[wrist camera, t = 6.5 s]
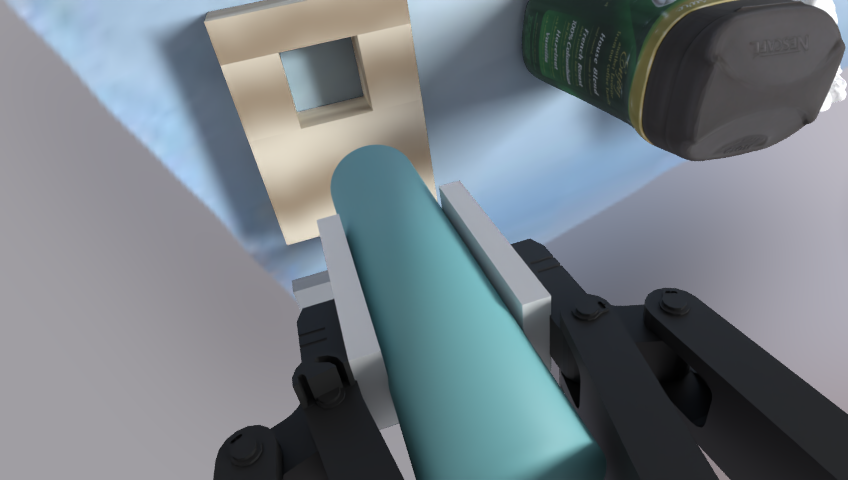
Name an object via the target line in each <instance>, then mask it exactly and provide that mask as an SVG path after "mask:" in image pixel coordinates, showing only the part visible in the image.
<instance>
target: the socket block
mask: <svg viewBox="0 0 848 480" xmlns="http://www.w3.org/2000/svg"><path fill="white" fill-rule="evenodd" d="M204 23H205V26H206V29H207V31H208V34H209V37H210V39H211V42H212V45H213V47H214V50H215V53H216V56H217V58H218V61H219V64H220V66H221V69H222V72H223V74H224V77H225V80H226V82H227V85H228V88H229V90H230V93H231V96H232V98H233V101H234V104H235V107H236V109H237V112H238V115H239V117H240V120H241V123H242V125H243V128H244V131H245V133H246V136H247V139H248V141H249V144H250V147H251V149H252V152H253V155H254V158H255V160H256V163H257V166H258V168H259V171H260V174H261V176H262V179H263V182H264V184H265V187H266V190H267V192H268V195H269V198H270V200H271V203H272V206H273V209H274V211H275V214H276V217H277V219H278V222H279V225H280V227H281V230H282V233H283V235H284V238H285V241H286V243H287V245H290V244H294V243H297V242H301V241H305V240H308V239H312V238H315V237H319V236H320V233H319V229H318V225H317V220H318V219H322V218H325V217H329V216H333V215H336V214H337V213H336V210H335V207H334V203H333V200H332V196H331V190H330V185H331V179H332V175H333V173H334V170H335V169H336V167H337V165H338V164H339V162H340V161H341V160H342V159H343V158H344V157H345V156H346V155H348V154H349V153H351V152H352V151H354V150H356V149H358V148H361V147H364V146H368V145H386V146H390V147H393V148H395V149H397V150H399V151H400V152H402V153H403V154H404V155H405V156H406V157H407V158H408V159H409V160H410V162H411V163H412V165H413V166H414V168H415V169H416V171H417V172H418V174H419V175H420V177H421V178H422V180H423V181H424V183H425V184H426V186H427V187H428V189H429V190H430V192H431V193H432V195H433V196H434V198H435V199H436V201H437V195H436V189H435V182H434V175H433V169H432V162H431V156H430V149H429V142H428V136H427V129H426V123H425V116H424V109H423V103H422V96H421V90H420V83H419V76H418V70H417V63H416V57H415V50H414V43H413V37H412V30H411V24H410V17H409V10H408V4H407V0H264V1H259V2H254V3H249V4H245V5H240V6H235V7H230V8H225V9H220V10H216V11H211V12H208V13H207V15H206V18H205V21H204ZM347 37H351V40H352V45H353V49H354V54H355V58H356V63H357V67H358V72H359V77H360V81H361V86H362V90H363V95H364V96H362V97H358V98H353V99H349V100H345V101H341V102H337V103H333V104H329V105H325V106H320V107H316V108H312V109H308V110H304V111H300V112H297V111H296V107H295V104H294V101H293V97H292V94H291V91H290V88H289V84H288V81H287V78H286V74H285V71H284V68H283V64H282V61H281V58H280V54H279V53H280V52H284V51H289V50H293V49H298V48H302V47H307V46H311V45H316V44H320V43H325V42H329V41H334V40H338V39H342V38H347Z"/></svg>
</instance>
